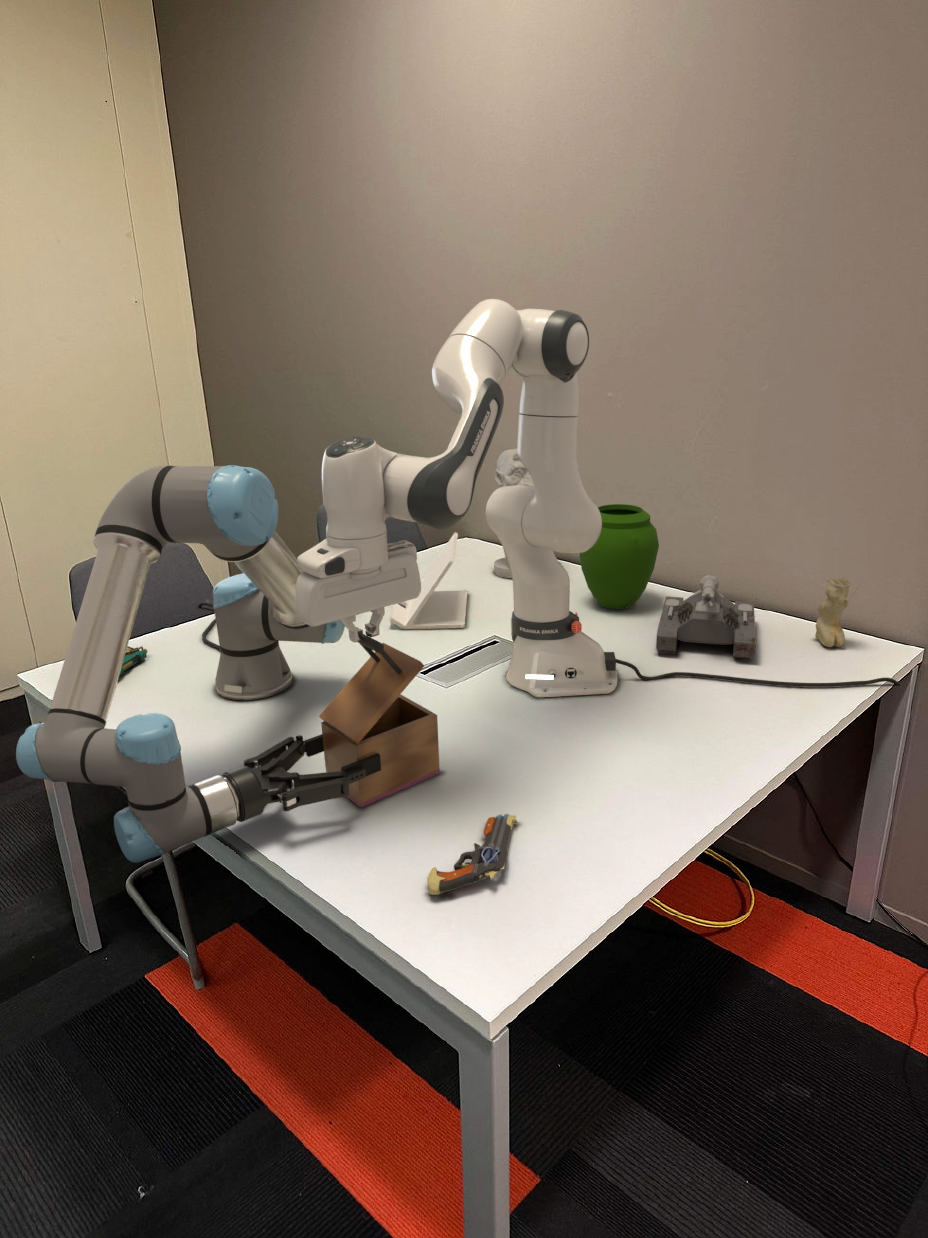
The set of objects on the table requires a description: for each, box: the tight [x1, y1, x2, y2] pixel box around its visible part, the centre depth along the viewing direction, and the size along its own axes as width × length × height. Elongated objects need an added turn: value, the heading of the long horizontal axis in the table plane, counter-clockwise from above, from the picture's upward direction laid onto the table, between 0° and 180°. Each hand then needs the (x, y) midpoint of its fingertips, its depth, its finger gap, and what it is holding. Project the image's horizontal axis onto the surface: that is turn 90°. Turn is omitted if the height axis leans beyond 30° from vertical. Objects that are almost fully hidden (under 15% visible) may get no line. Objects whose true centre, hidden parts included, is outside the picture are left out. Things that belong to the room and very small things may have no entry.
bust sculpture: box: [493, 448, 534, 579], centre depth 231 cm, size 16×24×35 cm
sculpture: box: [814, 576, 852, 648], centre depth 185 cm, size 6×7×15 cm
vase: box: [578, 503, 660, 610], centre depth 210 cm, size 20×20×24 cm
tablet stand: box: [388, 531, 468, 630], centre depth 211 cm, size 18×25×17 cm
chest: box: [320, 693, 441, 808], centre depth 138 cm, size 15×10×11 cm
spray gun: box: [119, 645, 148, 676], centre depth 185 cm, size 4×17×15 cm
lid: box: [318, 633, 425, 744], centre depth 132 cm, size 16×10×8 cm
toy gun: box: [427, 813, 518, 896], centre depth 119 cm, size 3×19×10 cm
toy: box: [655, 574, 756, 660], centre depth 189 cm, size 25×20×15 cm
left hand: (360, 748), depth 136 cm, fingers closed on chest, 10 cm apart
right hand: (364, 638), depth 130 cm, fingers closed
